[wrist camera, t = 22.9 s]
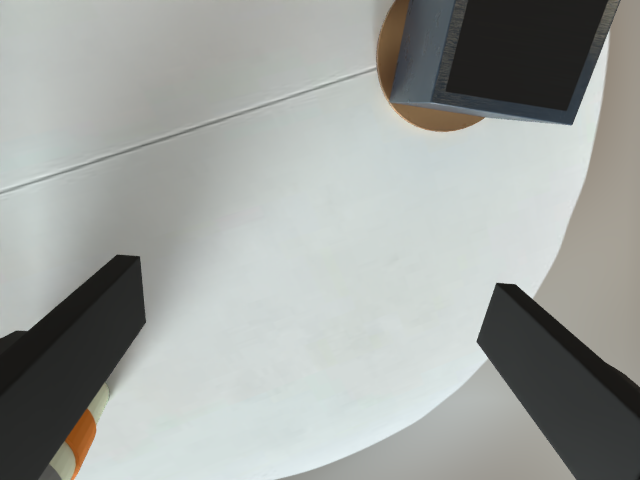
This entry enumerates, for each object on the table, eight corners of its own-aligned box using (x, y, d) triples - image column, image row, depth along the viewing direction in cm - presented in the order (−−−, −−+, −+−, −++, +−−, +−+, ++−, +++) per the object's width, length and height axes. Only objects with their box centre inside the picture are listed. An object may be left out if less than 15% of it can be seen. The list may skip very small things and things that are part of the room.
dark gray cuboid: (573, 125, 23) (643, -58, 20) (430, 103, 23) (476, -93, 19) (486, 117, 35) (522, -1, 31) (388, 102, 34) (413, -21, 30)
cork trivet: (349, 25, 32) (350, 24, 31) (491, -74, 30) (496, -78, 29) (415, 157, 37) (417, 158, 36) (543, 80, 34) (548, 80, 34)
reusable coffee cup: (118, 431, 49) (45, 562, 35) (22, 414, 47) (-95, 545, 34) (128, 363, 45) (49, 481, 31) (23, 341, 43) (-112, 456, 29)
